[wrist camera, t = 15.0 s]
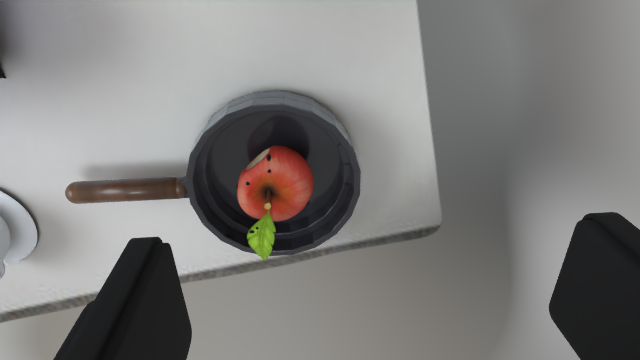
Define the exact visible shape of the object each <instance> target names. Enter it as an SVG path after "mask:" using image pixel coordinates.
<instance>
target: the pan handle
mask: <svg viewBox="0 0 640 360" xmlns="http://www.w3.org/2000/svg"><path fill="white" fill-rule="evenodd" d="M196 193H197V192H196ZM65 195H66V198H67V199H68V200H69V201H70V202H72V203H76V204H82V203H102V202H121V201H141V200H161V199H180V198H189V193H188V189H187V184H186V177H163V178H143V179H122V180H101V181H81V182H74V183H71V184H70V185H69V186H68V187H67V188H66V191H65Z"/></svg>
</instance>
